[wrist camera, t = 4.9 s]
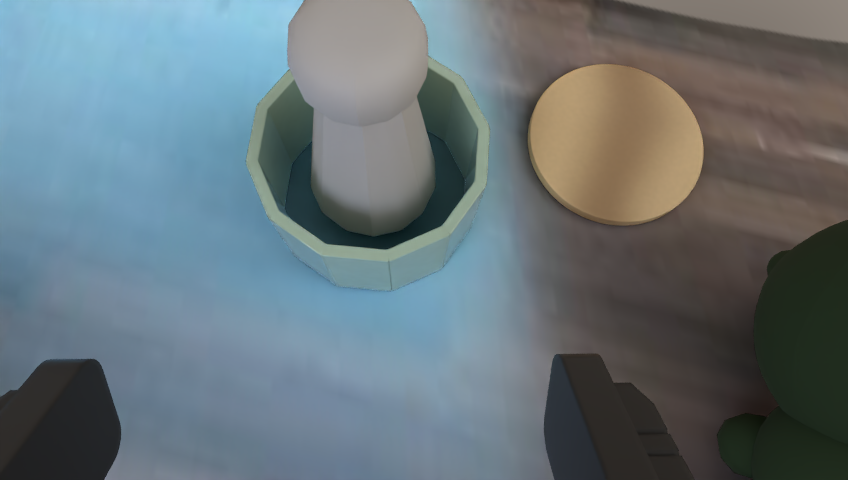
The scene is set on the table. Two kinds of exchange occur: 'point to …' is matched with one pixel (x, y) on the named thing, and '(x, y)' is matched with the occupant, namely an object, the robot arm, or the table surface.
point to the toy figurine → (799, 367)
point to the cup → (357, 266)
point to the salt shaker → (365, 110)
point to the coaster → (615, 144)
